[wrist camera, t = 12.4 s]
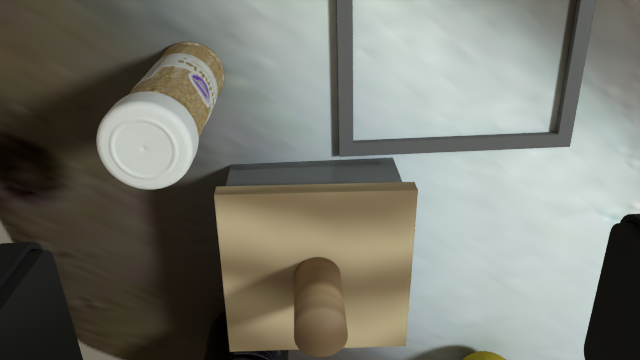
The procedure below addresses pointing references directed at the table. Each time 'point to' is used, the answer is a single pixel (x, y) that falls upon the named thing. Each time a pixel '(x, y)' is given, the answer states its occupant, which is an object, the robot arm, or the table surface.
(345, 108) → the picture frame
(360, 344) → the lid
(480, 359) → the lemon
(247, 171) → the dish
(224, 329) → the supplement bottle
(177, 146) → the sprinkles bottle
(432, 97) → the table surface
